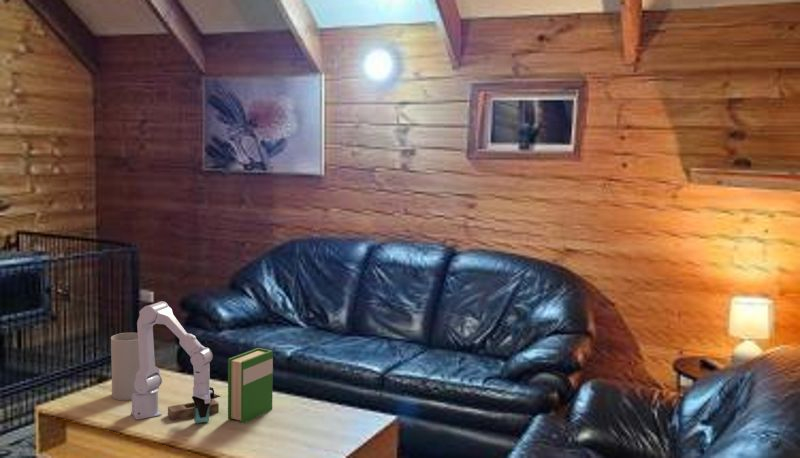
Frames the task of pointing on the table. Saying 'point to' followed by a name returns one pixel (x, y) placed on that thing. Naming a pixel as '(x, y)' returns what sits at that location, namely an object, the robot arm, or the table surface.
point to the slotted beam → (189, 410)
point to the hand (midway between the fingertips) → (201, 415)
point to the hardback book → (250, 384)
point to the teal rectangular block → (197, 417)
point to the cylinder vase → (124, 364)
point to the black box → (213, 394)
